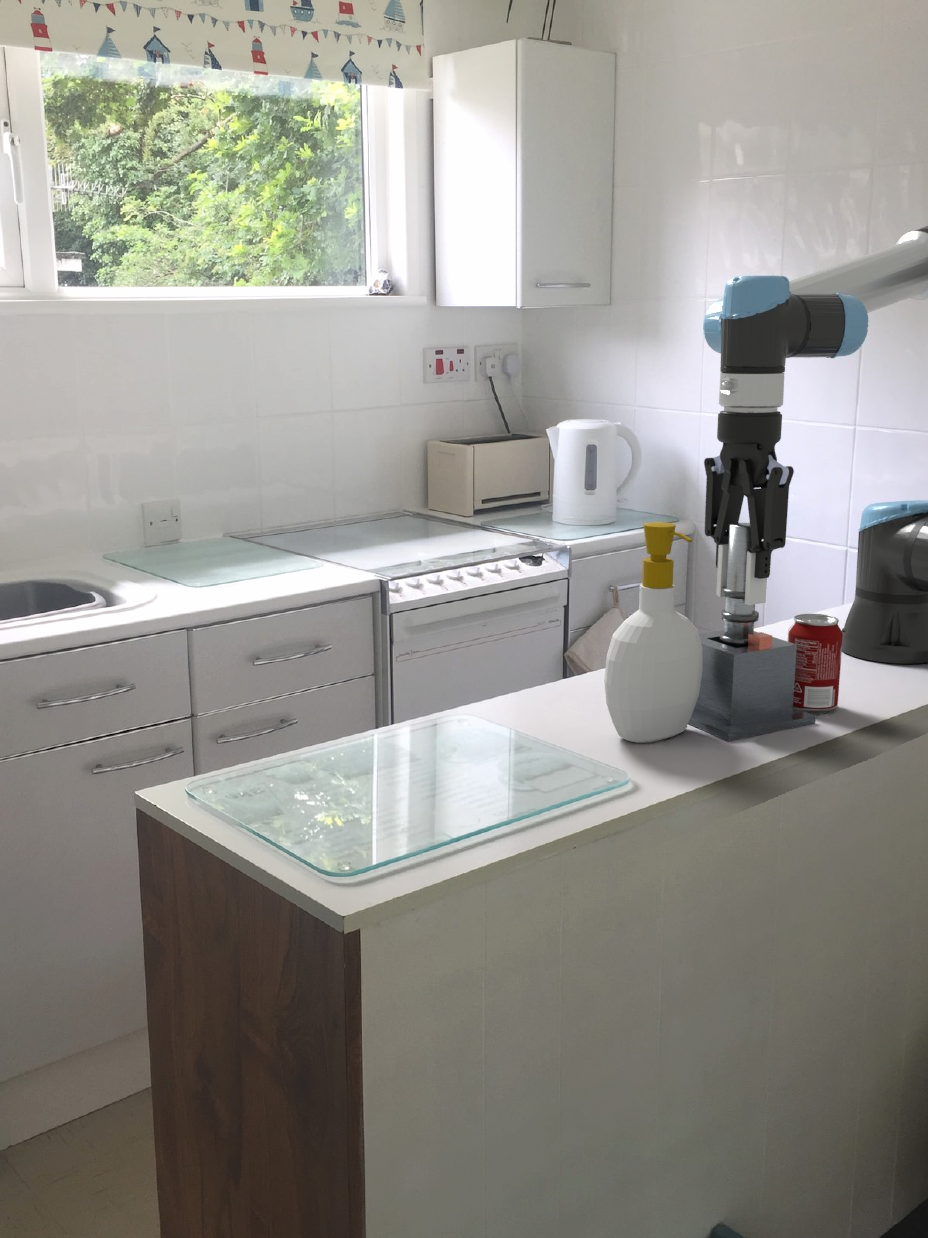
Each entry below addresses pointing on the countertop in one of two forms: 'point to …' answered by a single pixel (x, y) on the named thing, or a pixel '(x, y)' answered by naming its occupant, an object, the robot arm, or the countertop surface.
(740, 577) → the column
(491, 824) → the countertop surface
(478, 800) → the countertop surface
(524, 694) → the countertop surface
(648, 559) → the soap bottle
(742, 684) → the sleeve
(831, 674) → the soda can
